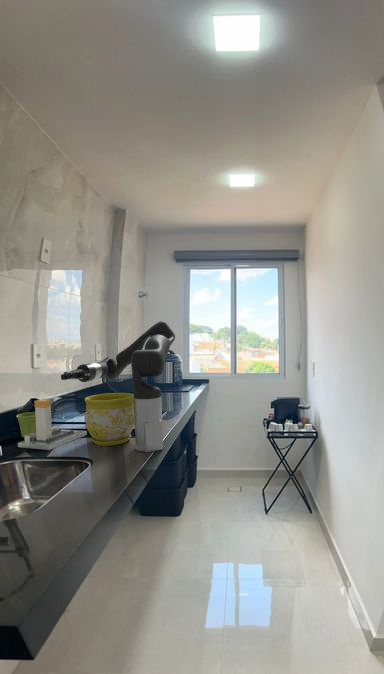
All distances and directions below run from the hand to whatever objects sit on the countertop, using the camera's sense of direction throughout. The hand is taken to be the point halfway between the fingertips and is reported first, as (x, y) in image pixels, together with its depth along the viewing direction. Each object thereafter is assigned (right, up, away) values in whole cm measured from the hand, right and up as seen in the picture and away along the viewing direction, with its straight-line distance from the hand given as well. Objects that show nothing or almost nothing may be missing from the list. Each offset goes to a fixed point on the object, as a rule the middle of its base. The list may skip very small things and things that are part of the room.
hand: (62, 377), depth 153 cm
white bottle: (-3, -22, -10) cm, 24 cm away
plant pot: (-14, -24, +4) cm, 28 cm away
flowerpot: (+21, -23, -9) cm, 32 cm away
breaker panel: (-1, -23, -5) cm, 24 cm away
